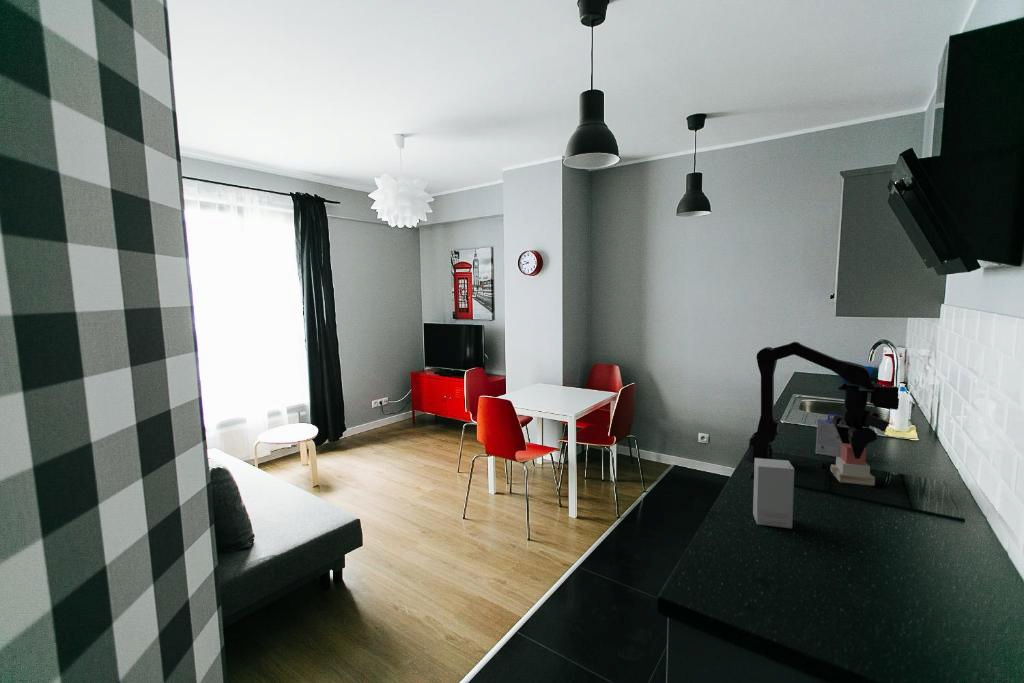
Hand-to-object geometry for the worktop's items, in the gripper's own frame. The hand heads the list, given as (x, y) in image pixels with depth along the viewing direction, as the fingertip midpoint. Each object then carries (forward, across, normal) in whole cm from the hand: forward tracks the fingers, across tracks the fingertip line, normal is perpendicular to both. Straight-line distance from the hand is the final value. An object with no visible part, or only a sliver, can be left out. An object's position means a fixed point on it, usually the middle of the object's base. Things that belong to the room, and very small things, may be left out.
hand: (851, 453), depth 148 cm
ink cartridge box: (+8, +24, -2) cm, 25 cm away
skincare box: (+8, -40, +30) cm, 50 cm away
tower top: (+5, 0, 0) cm, 5 cm away
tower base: (+8, 0, 0) cm, 8 cm away
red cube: (+2, 0, 0) cm, 2 cm away
